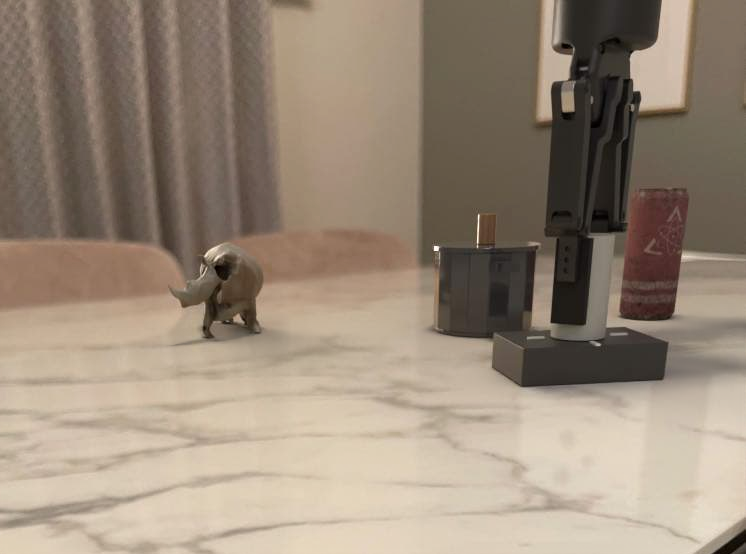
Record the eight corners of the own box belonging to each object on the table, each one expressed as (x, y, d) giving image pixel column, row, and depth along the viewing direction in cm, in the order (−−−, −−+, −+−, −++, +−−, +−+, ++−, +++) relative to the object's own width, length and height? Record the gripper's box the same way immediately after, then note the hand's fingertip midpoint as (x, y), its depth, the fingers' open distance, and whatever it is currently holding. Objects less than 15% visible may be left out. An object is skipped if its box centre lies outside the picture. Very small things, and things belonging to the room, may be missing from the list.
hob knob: (561, 330, 73) (570, 228, 70) (612, 334, 71) (623, 229, 68) (542, 338, 70) (549, 231, 67) (594, 342, 68) (605, 232, 64)
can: (678, 314, 100) (695, 186, 95) (667, 321, 95) (684, 187, 90) (626, 311, 103) (639, 187, 98) (613, 318, 98) (626, 188, 93)
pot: (506, 316, 101) (510, 242, 98) (554, 339, 87) (561, 253, 83) (419, 320, 100) (420, 245, 97) (453, 343, 85) (456, 256, 82)
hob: (619, 360, 76) (623, 324, 75) (665, 380, 68) (671, 340, 67) (490, 366, 75) (492, 329, 74) (522, 387, 67) (525, 347, 66)
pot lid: (519, 249, 96) (522, 210, 95) (556, 257, 86) (559, 214, 84) (421, 252, 95) (422, 213, 93) (446, 261, 84) (447, 217, 83)
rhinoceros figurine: (283, 295, 103) (252, 189, 91) (275, 380, 96) (241, 278, 84) (221, 302, 104) (182, 198, 92) (209, 386, 97) (165, 286, 85)
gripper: (597, 11, 69) (572, 303, 78) (509, -27, 56) (492, 331, 65) (693, -1, 65) (655, 308, 74) (623, -44, 52) (587, 339, 61)
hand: (579, 318), depth 70 cm, fingers closed on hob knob, 4 cm apart
